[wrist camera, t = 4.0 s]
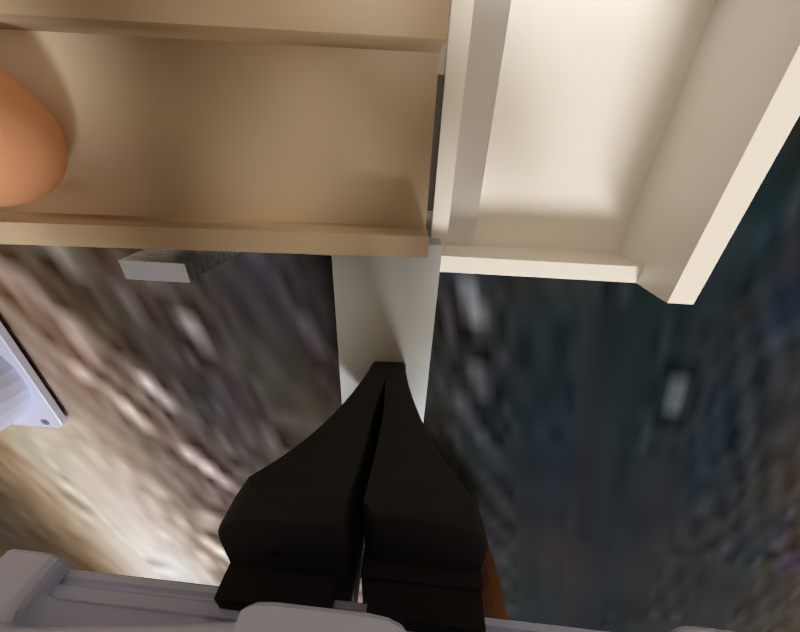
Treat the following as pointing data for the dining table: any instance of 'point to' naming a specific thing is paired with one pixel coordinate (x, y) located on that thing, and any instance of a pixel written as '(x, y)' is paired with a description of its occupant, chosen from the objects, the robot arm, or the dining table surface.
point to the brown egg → (27, 146)
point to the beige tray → (248, 143)
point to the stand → (470, 158)
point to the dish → (621, 136)
